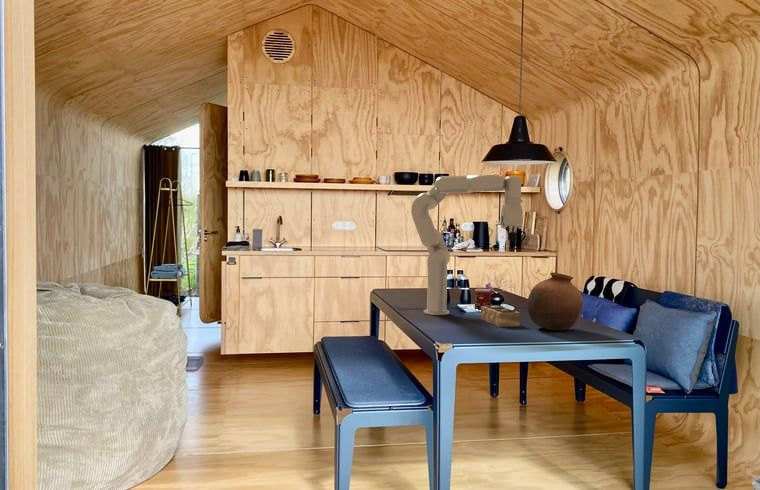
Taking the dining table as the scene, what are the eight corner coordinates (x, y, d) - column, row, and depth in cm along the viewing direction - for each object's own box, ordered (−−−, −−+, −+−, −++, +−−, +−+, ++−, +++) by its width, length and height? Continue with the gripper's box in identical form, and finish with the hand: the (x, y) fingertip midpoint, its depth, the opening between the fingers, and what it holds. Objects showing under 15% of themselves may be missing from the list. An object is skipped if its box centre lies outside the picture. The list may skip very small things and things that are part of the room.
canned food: (472, 310, 315) (472, 288, 314) (486, 309, 317) (486, 288, 316) (478, 312, 307) (479, 290, 307) (493, 312, 310) (493, 290, 309)
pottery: (517, 326, 274) (519, 270, 272) (560, 323, 282) (562, 269, 280) (548, 336, 252) (550, 276, 251) (593, 333, 261) (596, 275, 259)
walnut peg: (498, 323, 278) (499, 309, 278) (506, 323, 280) (506, 309, 279) (502, 325, 275) (503, 310, 274) (510, 325, 276) (511, 310, 275)
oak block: (480, 319, 289) (481, 305, 289) (499, 318, 292) (500, 304, 292) (499, 326, 271) (500, 312, 271) (519, 326, 274) (520, 311, 274)
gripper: (522, 202, 296) (521, 240, 297) (494, 201, 292) (493, 240, 293) (530, 202, 289) (529, 241, 290) (502, 201, 285) (500, 241, 286)
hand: (511, 240), depth 292 cm, fingers closed
